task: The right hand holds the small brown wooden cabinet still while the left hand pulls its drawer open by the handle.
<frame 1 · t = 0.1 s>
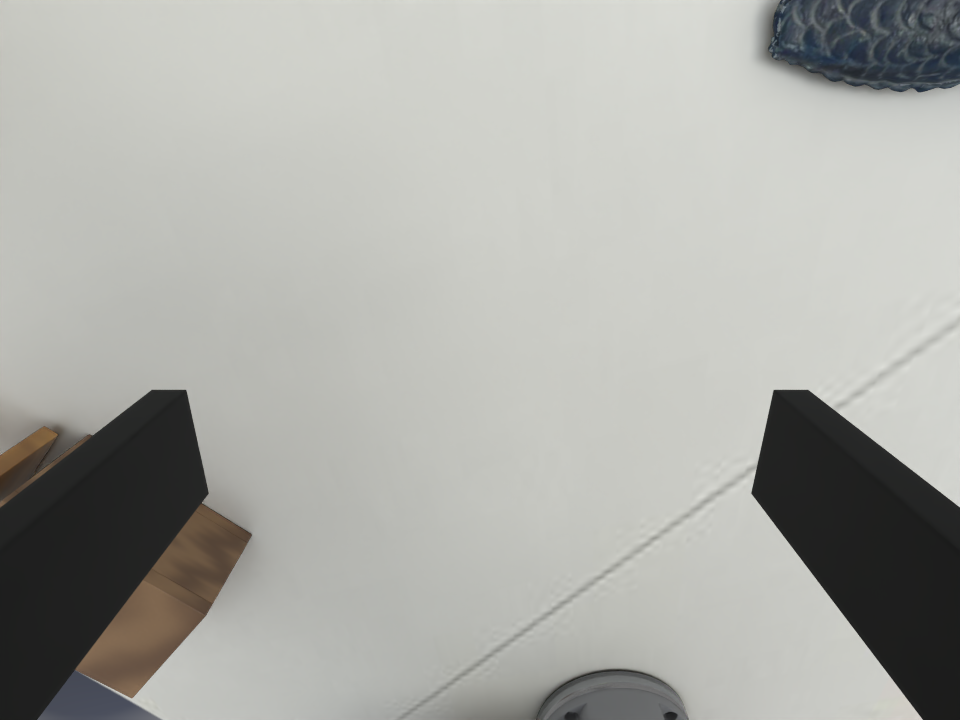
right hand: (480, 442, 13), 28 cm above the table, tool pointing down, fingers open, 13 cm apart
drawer: (36, 523, 42), point 4 cm above the table, slide at 1.5 cm
fish model: (935, 24, 34), on the table
cabinet: (141, 527, 48), on the table
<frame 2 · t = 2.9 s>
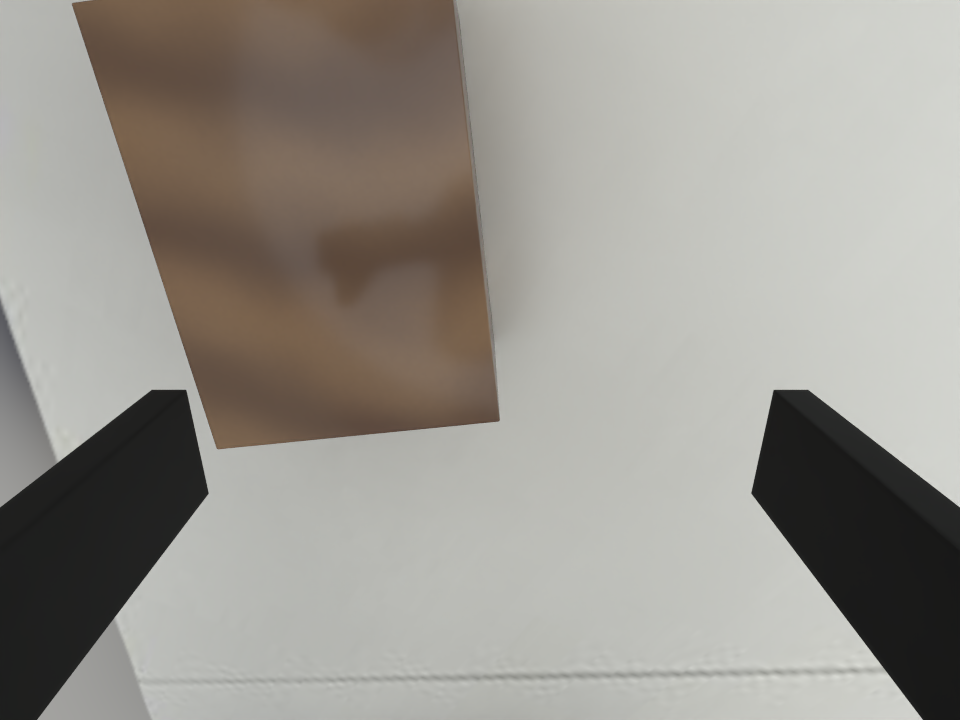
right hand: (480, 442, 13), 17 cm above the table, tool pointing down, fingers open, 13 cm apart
cabinet: (364, 210, 27), on the table
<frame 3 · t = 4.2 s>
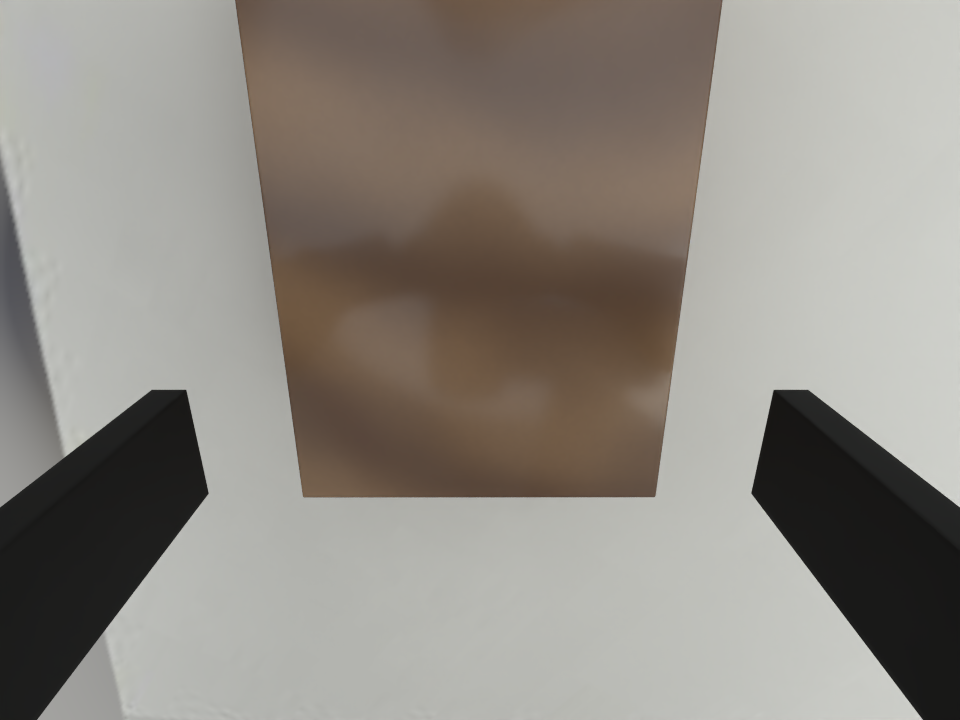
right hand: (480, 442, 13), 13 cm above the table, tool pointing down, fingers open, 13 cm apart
cabinet: (479, 217, 23), on the table
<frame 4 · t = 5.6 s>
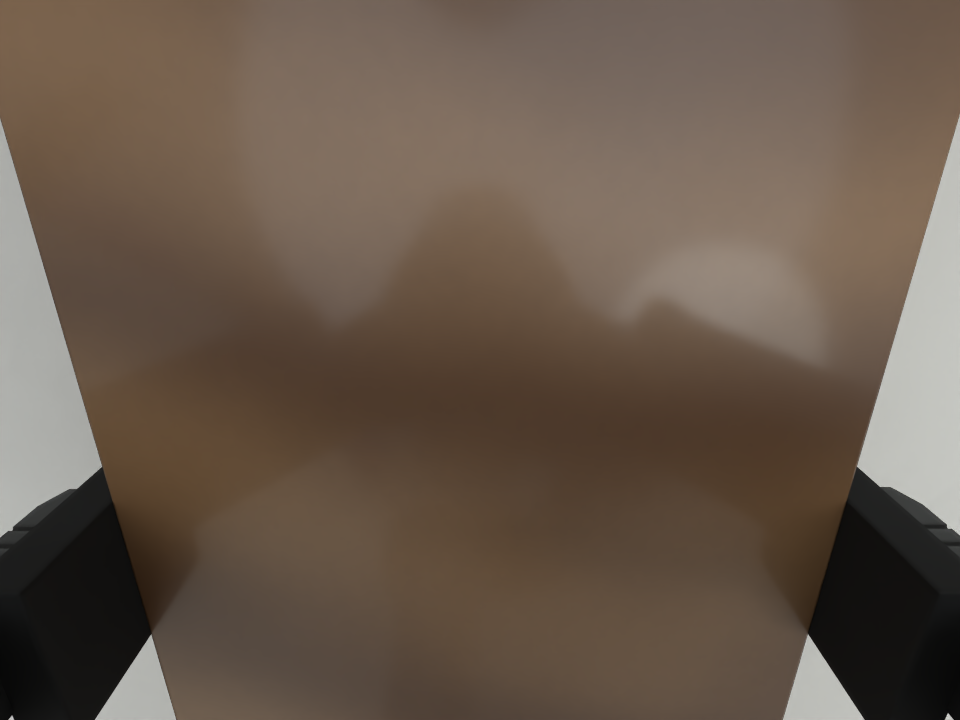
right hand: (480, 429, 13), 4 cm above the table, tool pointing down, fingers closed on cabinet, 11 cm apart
cabinet: (479, 243, 16), on the table, touching right hand
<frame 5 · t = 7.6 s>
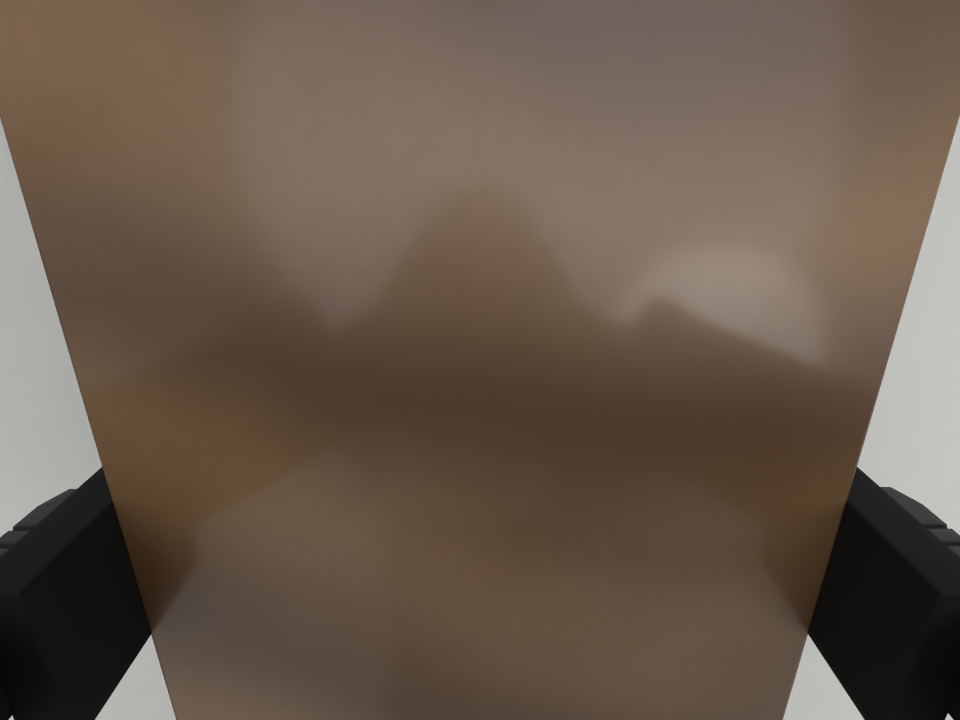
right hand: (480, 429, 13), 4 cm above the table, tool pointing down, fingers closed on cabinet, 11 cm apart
cabinet: (479, 243, 16), on the table, touching right hand
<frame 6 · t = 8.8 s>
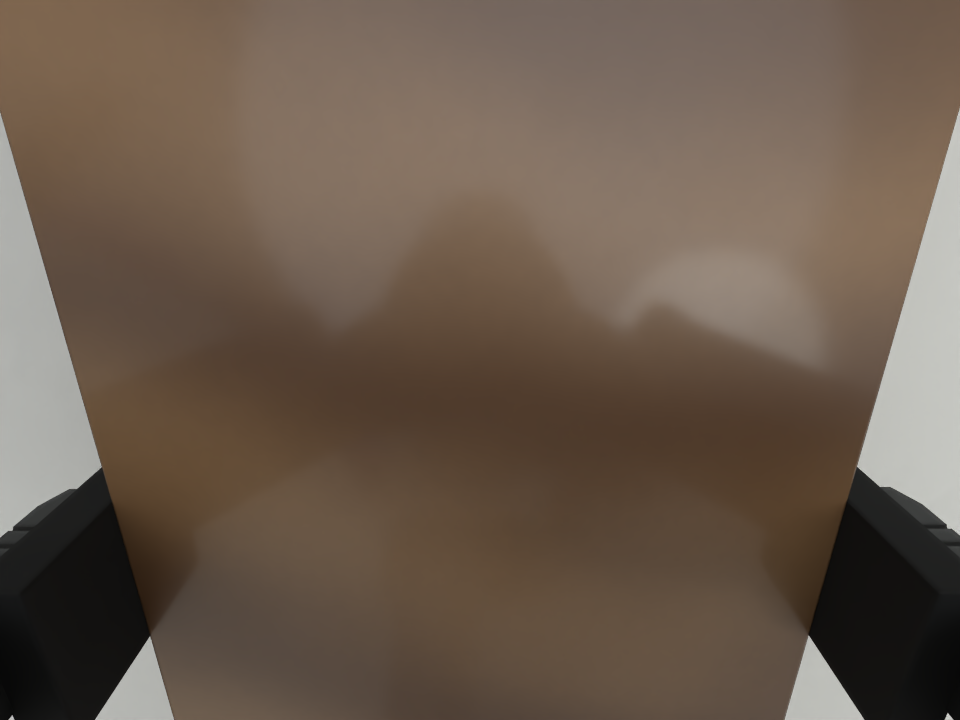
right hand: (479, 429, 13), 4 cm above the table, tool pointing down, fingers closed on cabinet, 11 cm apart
cabinet: (479, 245, 16), on the table, touching right hand
when the right hand's fingers open (4 cm above the table, at t = 10.5 s): cabinet stays where it is, on the table.
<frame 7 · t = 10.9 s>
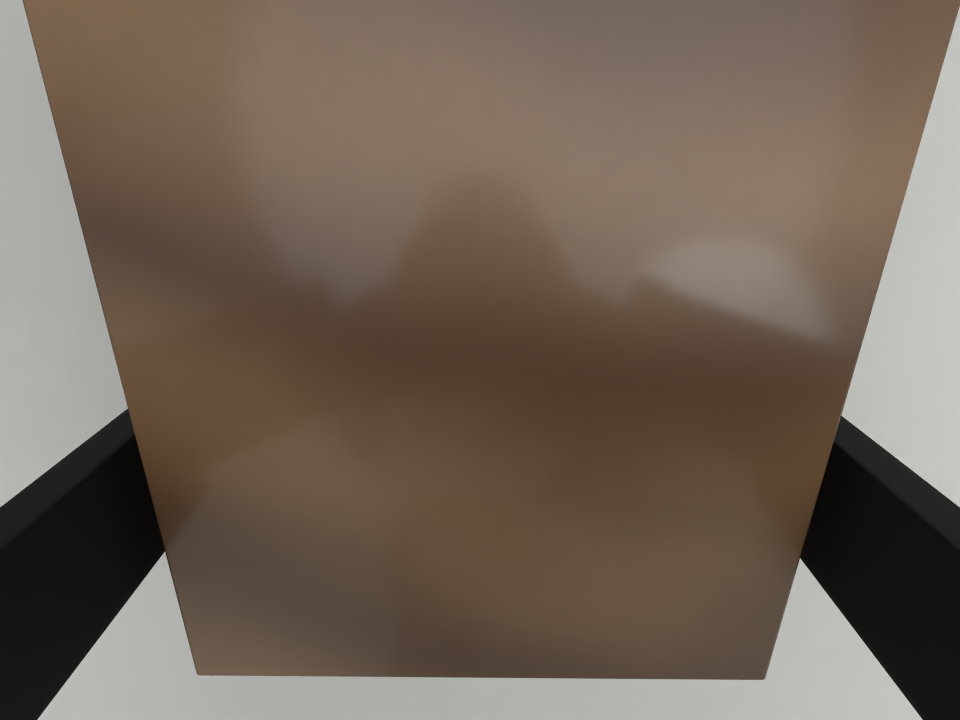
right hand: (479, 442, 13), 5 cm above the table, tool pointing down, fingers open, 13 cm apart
cabinet: (483, 218, 16), on the table
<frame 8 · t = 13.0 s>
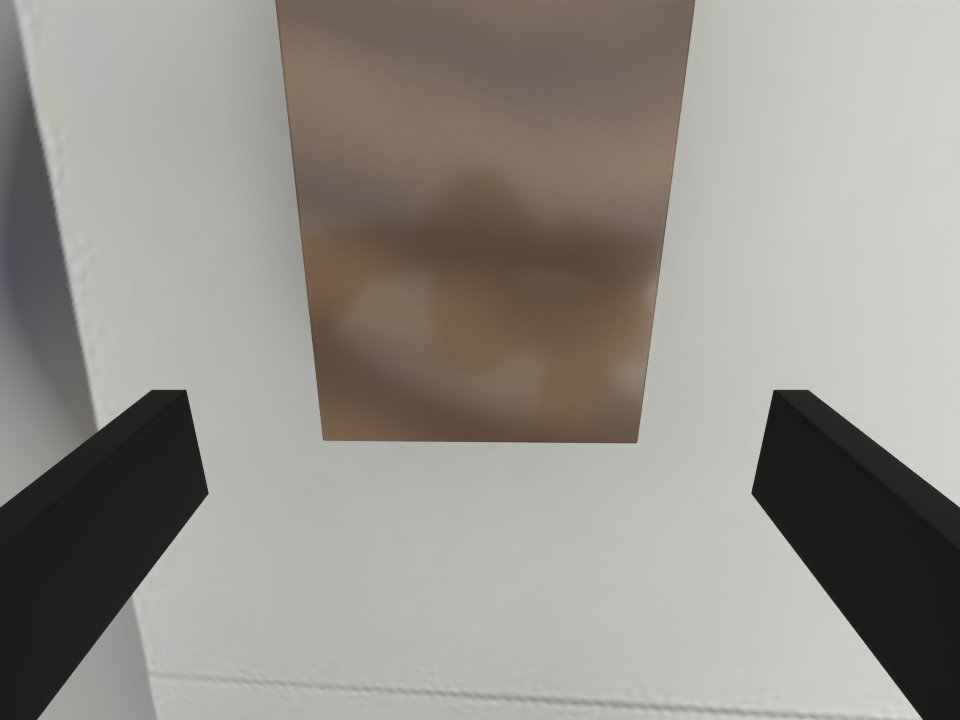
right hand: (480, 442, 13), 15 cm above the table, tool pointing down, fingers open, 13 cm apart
cabinet: (481, 196, 25), on the table
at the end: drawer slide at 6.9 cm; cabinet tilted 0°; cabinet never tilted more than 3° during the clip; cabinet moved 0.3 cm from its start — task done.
